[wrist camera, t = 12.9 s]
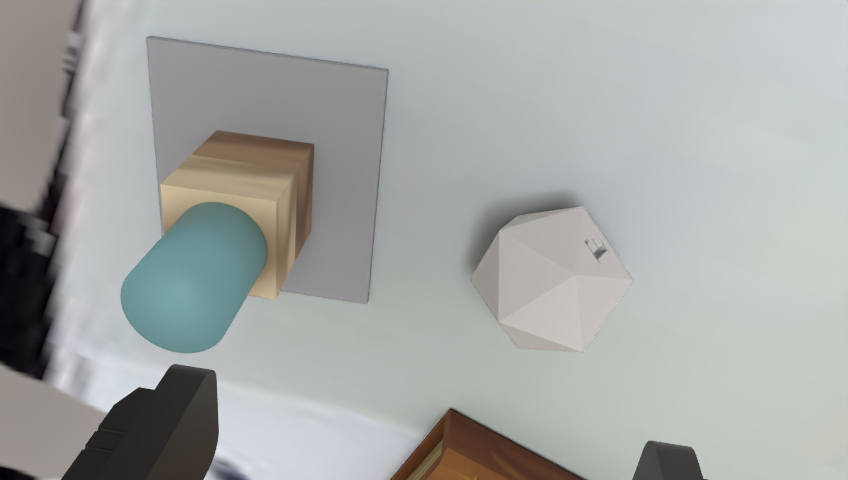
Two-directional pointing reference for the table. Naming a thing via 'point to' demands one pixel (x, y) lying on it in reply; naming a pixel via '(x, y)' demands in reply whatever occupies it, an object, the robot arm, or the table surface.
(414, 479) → the diary
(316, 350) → the table surface
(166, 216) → the oak block
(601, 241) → the die
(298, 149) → the walnut block
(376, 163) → the slate mat
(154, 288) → the teal cylinder
